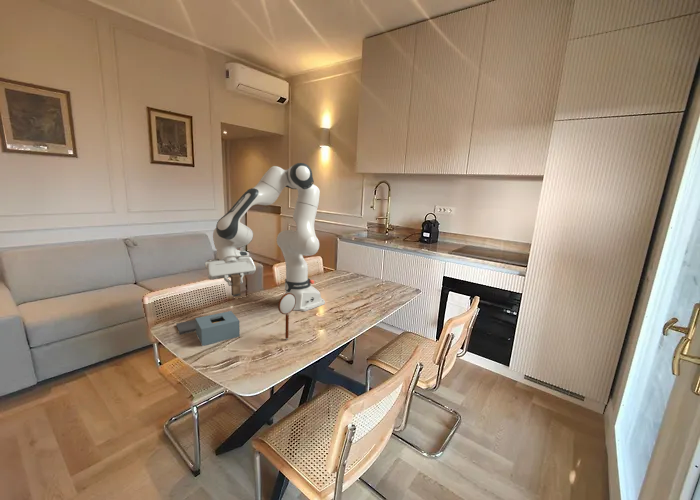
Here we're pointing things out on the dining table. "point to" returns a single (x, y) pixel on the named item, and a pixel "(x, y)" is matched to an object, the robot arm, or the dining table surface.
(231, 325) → the box
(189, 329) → the pad
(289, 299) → the magnifying glass
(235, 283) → the upright wooden post
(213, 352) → the dining table surface
